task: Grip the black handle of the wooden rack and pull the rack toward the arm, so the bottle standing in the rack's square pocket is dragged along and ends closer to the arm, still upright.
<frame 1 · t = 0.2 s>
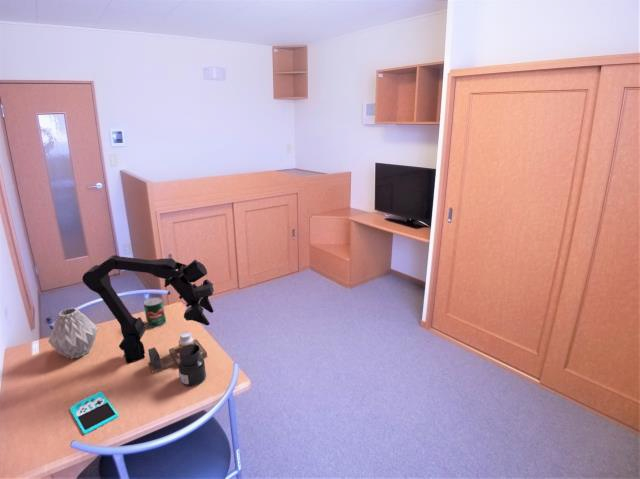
hand: (210, 318, 147), 15 cm above the table, tool tilted 30°, fingers open, 9 cm apart
canned tomato: (156, 323, 173), on the table
ink bottle: (193, 379, 136), on the table
vase: (78, 353, 152), on the table
handheld game console: (94, 414, 122), on the table
wooden rack: (176, 351, 146), point 3 cm above the table, slide at 0.0 cm
supplement bottle: (188, 355, 149), resting in wooden rack
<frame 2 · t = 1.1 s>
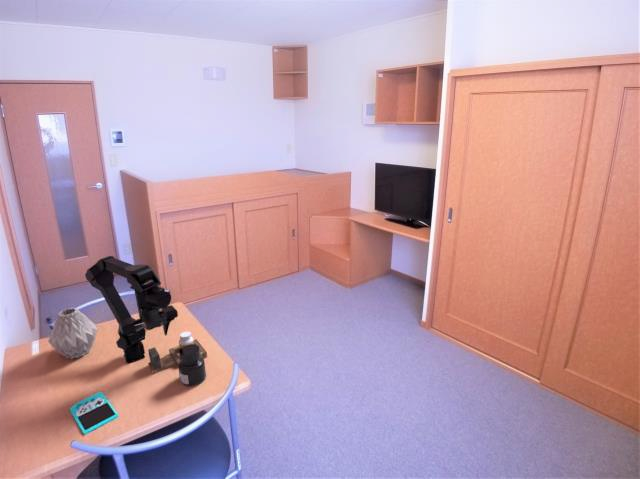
hand: (152, 339, 139), 12 cm above the table, tool pointing down, fingers open, 9 cm apart
nothing on the table moved.
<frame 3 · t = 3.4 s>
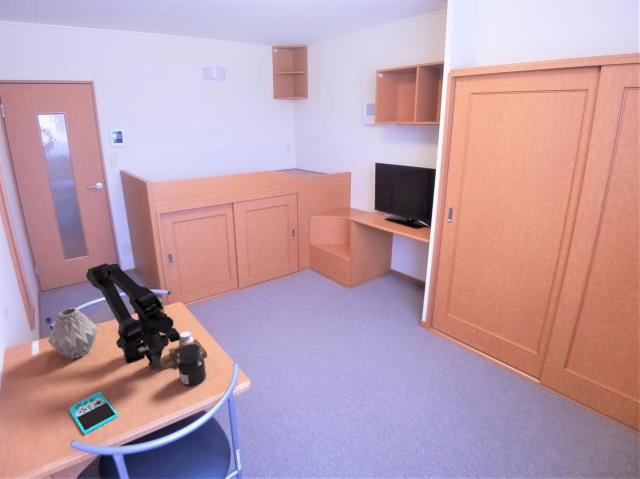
hand: (155, 361, 142), 3 cm above the table, tool pointing down, fingers closed on wooden rack, 2 cm apart
wooden rack: (176, 351, 146), point 3 cm above the table, slide at 0.0 cm, touching gripper
everything else where it was.
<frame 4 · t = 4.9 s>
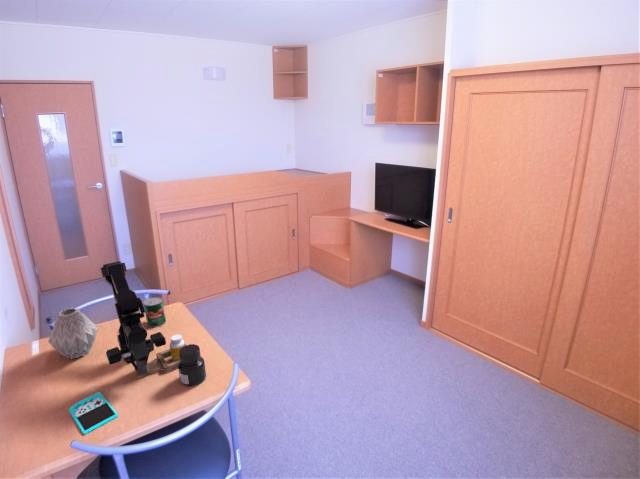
hand: (140, 367, 139), 2 cm above the table, tool pointing down, fingers open, 3 cm apart
wooden rack: (163, 356, 143), point 3 cm above the table, slide at 4.8 cm, touching supplement bottle, gripper
supplement bottle: (179, 359, 147), resting in wooden rack
everything else where it was.
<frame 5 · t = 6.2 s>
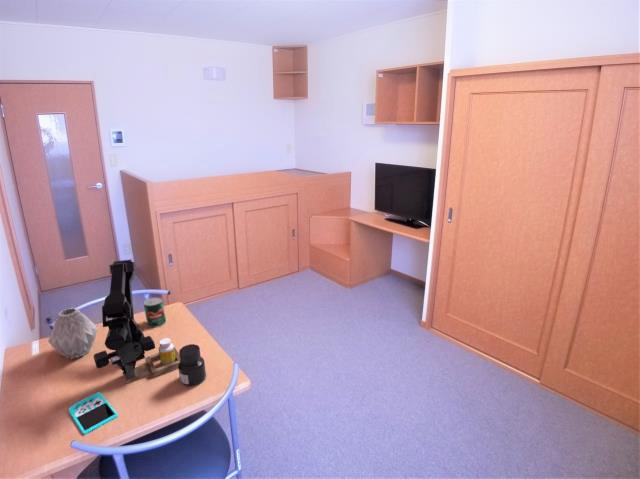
hand: (129, 371, 137), 3 cm above the table, tool pointing down, fingers closed on wooden rack, 2 cm apart
wooden rack: (151, 360, 141), point 3 cm above the table, slide at 8.9 cm, touching supplement bottle, gripper
supplement bottle: (168, 363, 145), resting in wooden rack
everything else where it was.
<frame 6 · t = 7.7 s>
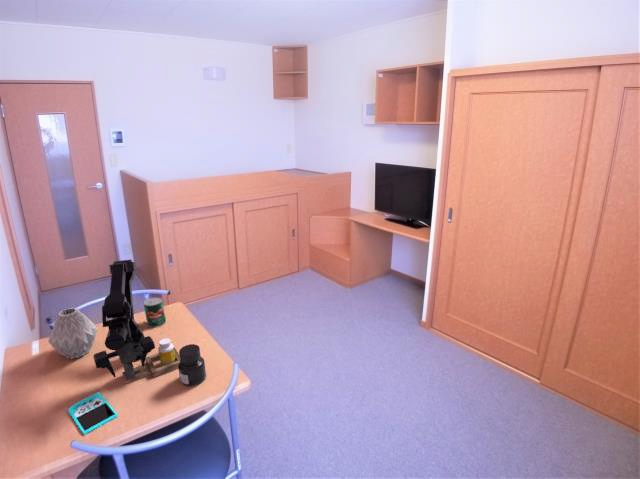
hand: (129, 371, 137), 3 cm above the table, tool pointing down, fingers open, 9 cm apart
wooden rack: (151, 360, 141), point 3 cm above the table, slide at 8.9 cm
supplement bottle: (168, 363, 145), resting in wooden rack
everything else where it was.
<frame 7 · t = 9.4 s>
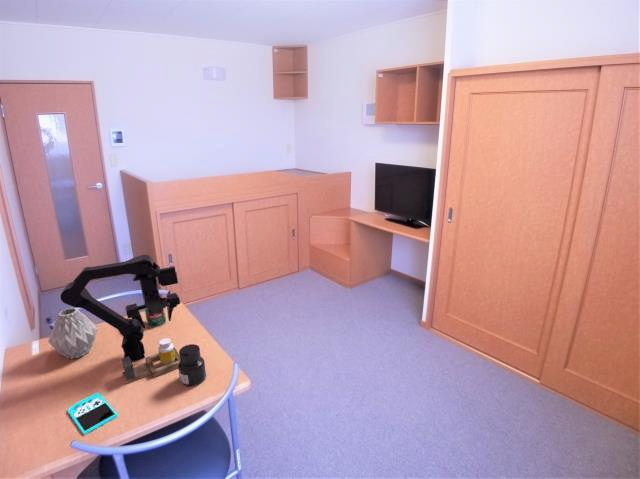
hand: (157, 324, 148), 12 cm above the table, tool pointing down, fingers open, 9 cm apart
nothing on the table moved.
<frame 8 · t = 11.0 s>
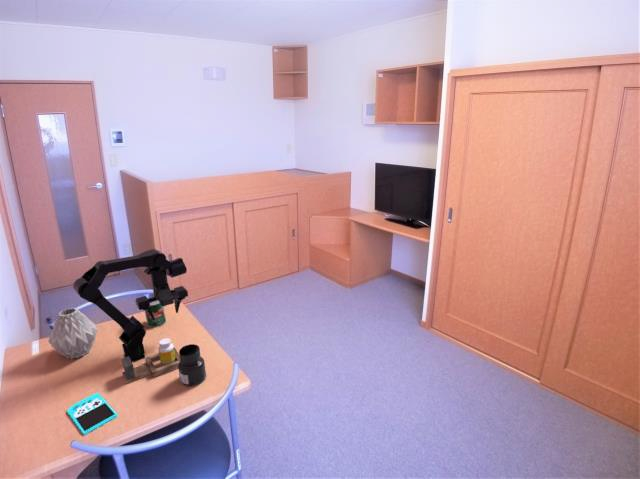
hand: (165, 316, 154), 12 cm above the table, tool pointing down, fingers open, 9 cm apart
nothing on the table moved.
at the end: wooden rack slide at 8.9 cm; supplement bottle inside the target area (0.2 cm from its centre), resting in wooden rack; supplement bottle tilted 0° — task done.
